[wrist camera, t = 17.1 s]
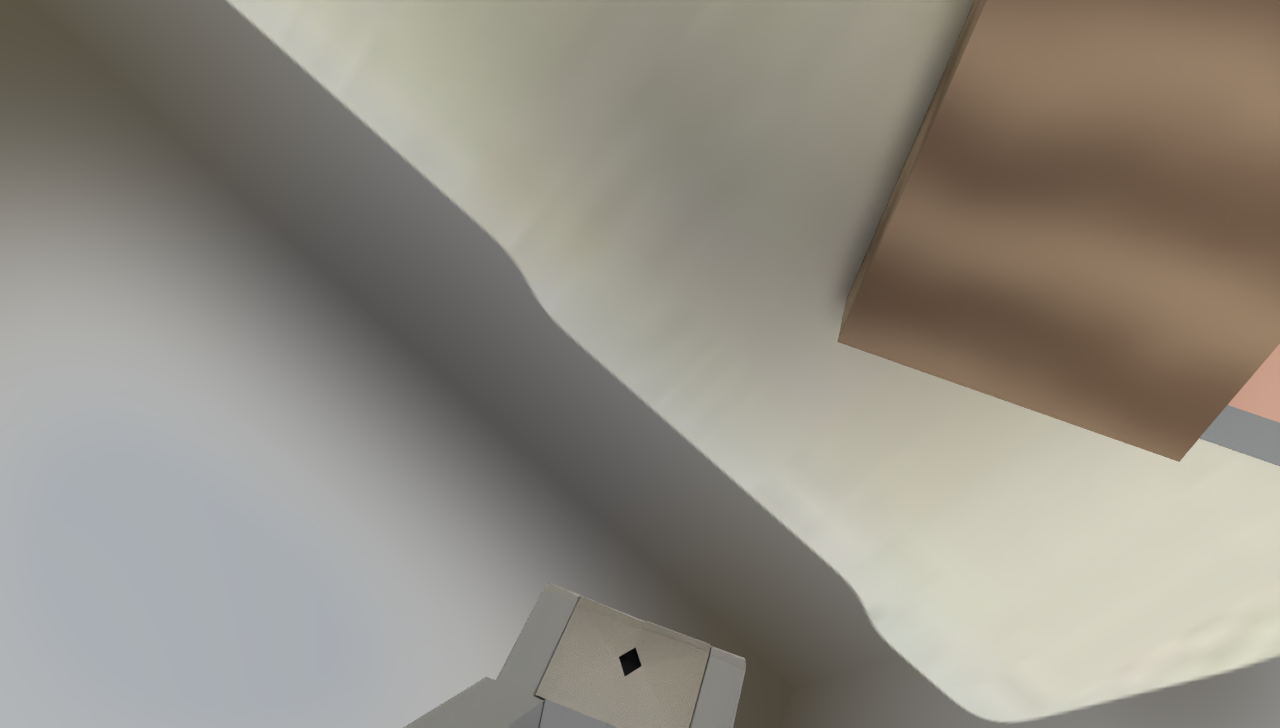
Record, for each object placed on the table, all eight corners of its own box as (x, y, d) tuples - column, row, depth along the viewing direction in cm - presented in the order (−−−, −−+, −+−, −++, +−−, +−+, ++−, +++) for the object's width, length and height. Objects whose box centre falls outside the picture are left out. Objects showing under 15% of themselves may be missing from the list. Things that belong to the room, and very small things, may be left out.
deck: (1059, -198, 25) (1077, -209, 21) (1538, -84, 23) (1637, -78, 19) (846, 299, 36) (837, 341, 32) (1156, 405, 34) (1179, 461, 30)
